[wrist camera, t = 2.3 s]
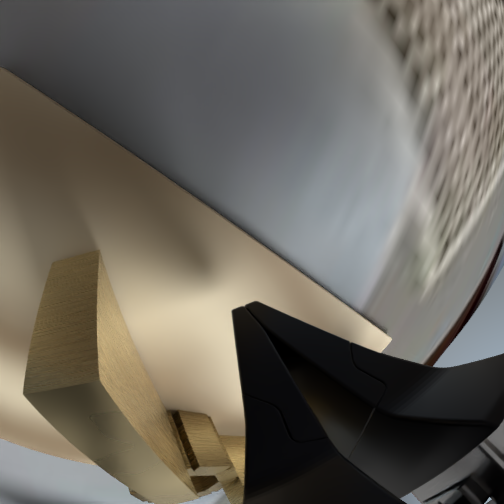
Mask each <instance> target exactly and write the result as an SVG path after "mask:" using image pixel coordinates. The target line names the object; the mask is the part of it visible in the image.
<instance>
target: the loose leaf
mask: <svg viewBox="0 0 504 504" xmlns="http://www.w3.org/2000/svg"><path fill="white" fill-rule="evenodd" d="M23 395H24V396H25V397H26V399H27V400H28V401H29V402H30V403H31V404H32V405H33V406H34V407H35V409H36V410H37V411H38V412H39V413H40V414H41V415H42V416H43V417H44V418H45V419H46V420H47V421H48V422H49V423H50V424H51V425H52V426H53V427H54V428H55V429H56V430H57V431H58V432H59V433H60V434H61V435H63V436H64V437H65V438H66V439H67V440H68V441H69V442H70V443H71V444H73V445H74V446H75V447H76V448H77V449H78V450H79V451H81V452H82V453H83V454H84V455H85V456H87V457H88V458H89V459H90V460H92V461H93V462H94V463H95V464H97V465H98V466H99V467H101V468H102V469H103V470H105V471H106V472H107V473H109V474H110V475H112V476H113V477H114V478H116V479H117V480H119V481H120V482H122V483H123V484H124V485H126V486H127V487H129V488H130V489H132V490H134V491H135V492H137V493H138V494H140V495H142V496H143V497H145V498H146V499H148V500H150V501H152V502H153V503H155V504H178V503H183V502H187V501H191V500H194V499H198V498H199V497H198V494H197V492H196V490H195V488H194V485H193V483H192V480H191V478H190V476H189V473H188V471H187V468H186V465H185V463H184V460H183V458H182V455H181V452H180V450H179V447H178V444H177V441H176V438H175V436H174V433H173V430H172V427H171V424H170V421H169V418H168V414H167V411H166V409H165V407H164V405H163V403H162V401H161V399H160V397H159V395H158V393H157V392H156V390H155V388H154V386H153V384H152V382H151V380H150V377H149V375H148V373H147V371H146V369H145V367H144V365H143V363H142V361H141V358H140V356H139V354H138V352H137V349H136V347H135V345H134V342H133V340H132V338H131V335H130V333H129V331H128V328H127V326H126V323H125V321H124V318H123V316H122V313H121V310H120V308H119V305H118V302H117V300H116V297H115V294H114V291H113V289H112V286H111V283H110V280H109V277H108V274H107V271H106V268H105V265H104V262H103V258H102V255H101V252H100V249H99V250H96V251H92V252H88V253H84V254H81V255H77V256H74V257H70V258H66V259H63V260H59V261H56V262H52V265H51V268H50V271H49V274H48V277H47V281H46V284H45V287H44V291H43V294H42V298H41V301H40V305H39V309H38V313H37V317H36V321H35V325H34V329H33V334H32V338H31V343H30V349H29V354H28V360H27V366H26V372H25V379H24V387H23Z"/></svg>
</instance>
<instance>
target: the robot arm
mask: <svg viewBox="0 0 504 504" xmlns="http://www.w3.org/2000/svg"><path fill="white" fill-rule="evenodd" d="M231 314H232V322H233V331H234V339H235V347H236V355H237V363H238V370H239V378H240V385H241V393H242V401H243V408H244V419H245V468H244V493H243V502H242V504H407V503H405V502H404V501H402V500H401V499H400V498H401V497H403V496H405V495H407V494H409V493H411V492H412V494H413V495H414V496H415V497H416V498H417V499H418V500H419V501H420V502H421V503H422V504H484V503H485V502H486V501H487V499H488V498H489V497H490V498H491V499H492V500H490V501H489V502H488V503H487V504H504V354H501V355H497V356H494V357H490V358H486V359H483V360H479V361H475V362H471V363H468V364H463V365H459V366H454V367H447V368H438V367H431V366H427V365H423V364H419V363H415V362H411V361H407V360H404V359H400V358H396V357H393V356H389V355H386V354H383V353H380V352H377V351H374V350H371V349H368V348H366V347H363V346H361V345H358V344H356V343H353V342H351V343H350V341H348V340H346V339H343V338H341V337H339V336H336V335H334V334H331V333H329V332H327V331H324V330H322V329H320V328H317V327H315V326H313V325H310V324H308V323H306V322H304V321H301V320H299V319H297V318H294V317H292V316H290V315H288V314H285V313H283V312H281V311H279V310H276V309H274V308H272V307H270V306H268V305H265V304H263V303H261V302H259V301H253V302H251V303H248V304H246V305H245V306H240V307H237V308H235V309H232V311H231Z"/></svg>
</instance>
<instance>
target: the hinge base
mask: <svg viewBox="0 0 504 504" xmlns="http://www.w3.org/2000/svg"><path fill="white" fill-rule="evenodd" d="M167 414H168V418H169V421H170V424H171V427H172V430H173V433H174V436H175V438H176V441H177V444H178V447H179V450H180V452H181V455H182V458H183V460H184V463H185V465H186V468H187V471H188V473H189V476H190V478H191V480H192V483H193V485H194V488H195V490H196V492H197V494H198V497H201V496H205V495H208V494H211V492H213V491H218V490H220V489H221V488H223V489H224V491H225V493H226V495H227V497H228V499H229V501H230V503H231V504H242V502H243V493H244V468H245V436H229V435H219V434H218V432H217V430H216V428H215V425H214V423H213V421H212V419H211V417H208V416H207V414H202V413H195V412H189V411H183V410H177V411H176V412H175V413H174V414H172V413H171V411H170V410H169V411H167ZM129 491H130V494H131V495H133V496H134V497H136V498H138V499H140V500H141V501H143V502H144V501H148V503H153V502H152V501H150V500H148V499H146V498H145V497H143V496H142V495H140V494H138V493H137V492H135V491H134V490H132V489H130V488H129Z"/></svg>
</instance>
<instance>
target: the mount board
mask: <svg viewBox="0 0 504 504" xmlns="http://www.w3.org/2000/svg"><path fill="white" fill-rule="evenodd" d="M99 249H100V252H101V255H102V258H103V262H104V265H105V268H106V271H107V274H108V277H109V280H110V283H111V286H112V289H113V291H114V294H115V297H116V300H117V302H118V305H119V308H120V310H121V313H122V316H123V318H124V321H125V323H126V326H127V328H128V331H129V333H130V335H131V338H132V340H133V342H134V345H135V347H136V349H137V352H138V354H139V356H140V358H141V361H142V363H143V365H144V367H145V369H146V371H147V373H148V375H149V377H150V380H151V382H152V384H153V386H154V388H155V390H156V392H157V393H158V395H159V397H160V399H161V401H162V403H163V405H164V407H165V409H166V411H169V410H170V411H171V413H172V414H174V413H175V412H176V411H177V410H183V411H189V412H195V413H202V414H207V416H208V417H211V419H212V421H213V423H214V425H215V428H216V430H217V432H218V434H219V435H229V436H245V419H244V408H243V401H242V393H241V385H240V378H239V370H238V363H237V355H236V347H235V339H234V331H233V322H232V314H231V311H232V309H235V308H237V307H240V306H245V305H246V304H248V303H251V302H253V301H259V302H261V303H263V304H265V305H268V306H270V307H272V308H274V309H276V310H279V311H281V312H283V313H285V314H288V315H290V316H292V317H294V318H297V319H299V320H301V321H304V322H306V323H308V324H310V325H313V326H315V327H317V328H320V329H322V330H324V331H327V332H329V333H331V334H334V335H336V336H339V337H341V338H343V339H346V340H348V341H350V343H351V342H353V343H356V344H358V345H361V346H363V347H366V348H368V349H371V350H374V351H377V352H380V353H381V352H382V351H383V350H384V349H385V347H386V346H387V345H388V344H389V343H390V341H391V340H392V338H391V337H389V336H388V335H387V334H386V333H385V332H383V331H382V330H380V329H379V328H378V327H376V326H375V325H374V324H372V323H371V322H370V321H368V320H367V319H365V318H364V317H363V316H361V315H360V314H359V313H357V312H356V311H355V310H353V309H352V308H350V307H349V306H348V305H346V304H345V303H344V302H342V301H341V300H339V299H338V298H337V297H335V296H334V295H333V294H331V293H330V292H328V291H327V290H326V289H324V288H323V287H321V286H320V285H319V284H317V283H316V282H315V281H313V280H312V279H310V278H309V277H308V276H306V275H305V274H303V273H302V272H301V271H299V270H298V269H296V268H295V267H294V266H292V265H291V264H289V263H288V262H287V261H285V260H284V259H282V258H281V257H280V256H278V255H277V254H275V253H274V252H273V251H271V250H270V249H268V248H267V247H266V246H264V245H263V244H261V243H260V242H259V241H257V240H256V239H254V238H253V237H252V236H250V235H249V234H247V233H246V232H244V231H243V230H242V229H240V228H239V227H237V226H236V225H235V224H233V223H232V222H230V221H229V220H227V219H226V218H225V217H223V216H222V215H220V214H219V213H217V212H216V211H215V210H213V209H212V208H210V207H209V206H207V205H206V204H205V203H203V202H202V201H200V200H199V199H197V198H196V197H195V196H193V195H192V194H190V193H189V192H187V191H186V190H185V189H183V188H182V187H180V186H179V185H177V184H176V183H174V182H173V181H172V180H170V179H169V178H167V177H166V176H164V175H163V174H161V173H160V172H159V171H157V170H156V169H154V168H153V167H151V166H150V165H148V164H147V163H145V162H144V161H143V160H141V159H140V158H138V157H137V156H135V155H134V154H132V153H131V152H129V151H128V150H126V149H125V148H124V147H122V146H121V145H119V144H118V143H116V142H115V141H113V140H112V139H110V138H109V137H107V136H106V135H104V134H103V133H101V132H100V131H98V130H97V129H96V128H94V127H93V126H91V125H90V124H88V123H87V122H85V121H84V120H82V119H81V118H79V117H78V116H76V115H75V114H73V113H72V112H70V111H69V110H67V109H66V108H64V107H63V106H61V105H60V104H58V103H57V102H55V101H54V100H52V99H51V98H49V97H48V96H46V95H45V94H43V93H42V92H40V91H39V90H37V89H36V88H34V87H33V86H31V85H29V84H28V83H26V82H25V81H23V80H22V79H20V78H19V77H17V76H16V75H14V74H13V73H11V72H10V71H8V70H6V69H5V68H2V67H0V438H1V439H4V440H6V441H9V442H12V443H15V444H17V445H20V446H23V447H26V448H29V449H32V450H35V451H39V452H42V453H45V454H49V455H53V456H56V457H60V458H64V459H69V460H73V461H77V462H82V463H87V464H92V465H97V464H95V463H94V462H93V461H92V460H90V459H89V458H88V457H87V456H85V455H84V454H83V453H82V452H81V451H79V450H78V449H77V448H76V447H75V446H74V445H73V444H71V443H70V442H69V441H68V440H67V439H66V438H65V437H64V436H63V435H61V434H60V433H59V432H58V431H57V430H56V429H55V428H54V427H53V426H52V425H51V424H50V423H49V422H48V421H47V420H46V419H45V418H44V417H43V416H42V415H41V414H40V413H39V412H38V411H37V410H36V409H35V407H34V406H33V405H32V404H31V403H30V402H29V401H28V400H27V399H26V397H25V396H24V395H23V387H24V379H25V372H26V366H27V360H28V354H29V349H30V343H31V338H32V334H33V329H34V325H35V321H36V317H37V313H38V309H39V305H40V301H41V298H42V294H43V291H44V287H45V284H46V281H47V277H48V274H49V271H50V268H51V265H52V262H56V261H59V260H63V259H66V258H70V257H74V256H77V255H81V254H84V253H88V252H92V251H96V250H99Z"/></svg>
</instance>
